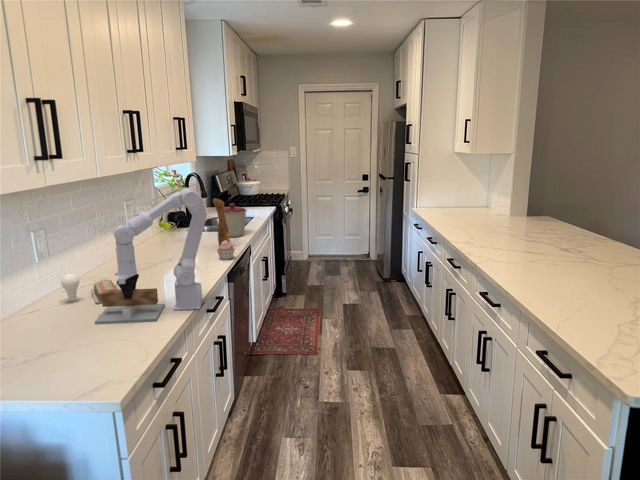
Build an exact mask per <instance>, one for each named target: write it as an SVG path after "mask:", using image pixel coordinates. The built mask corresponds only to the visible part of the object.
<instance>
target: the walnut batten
mask: <svg viewBox="0 0 640 480" xmlns="http://www.w3.org/2000/svg"><path fill="white" fill-rule="evenodd" d="M101 297H102V304H101V305H102V308H105V307H106V308H107V307H112V306H135V305H156V304H159V303H158V302H159V297H158V288H156V287H155V288H136V289H133V290H132V299H125V298H124V295H123V292H122V290H121V289H119V290H104V291H103V292H102V293H101Z"/></svg>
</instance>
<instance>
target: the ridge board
mask: <svg viewBox="0 0 640 480" xmlns="http://www.w3.org/2000/svg"><path fill="white" fill-rule="evenodd" d="M165 307H166V304H165V303H157V304H156V305H135V306H112V307H106V309H105V308H104V310H103V311H102V313H100V315H99V316H98V317H97V318H96V320H94V325H104V324H105V325H108V324H109V325H110V324H128V323H148V322H149V323H150V322H157V321H158V319H159V318H160V316H161V314H162V313H163V310H164V308H165Z"/></svg>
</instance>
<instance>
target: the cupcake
mask: <svg viewBox="0 0 640 480" xmlns="http://www.w3.org/2000/svg"><path fill="white" fill-rule="evenodd" d="M216 251H217V254H218V256H219V259H220V261H229V260H233V258H234V254H235V251H236V249H235V248H234V246H233V243H231V242H230V243H228V241H226V240H225V241H223V242H222V243H221V245H220V246H219V245H218V249H217V250H216Z"/></svg>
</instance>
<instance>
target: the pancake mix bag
mask: <svg viewBox="0 0 640 480" xmlns="http://www.w3.org/2000/svg"><path fill="white" fill-rule="evenodd" d="M212 203H213V205H214V208H215V210H216V213H217V219H218V224H217V226H218V229H217V241H218V247H219V246H220V245H221V243H222V242H223V241H225V240H226V241H228V243H231V239H230V237H229V233H228V227H227V222H226V218H225V211H224V207H225V202H224V201H223V200H222V199H219V198H215V197H214V198H213V199H212Z"/></svg>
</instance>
